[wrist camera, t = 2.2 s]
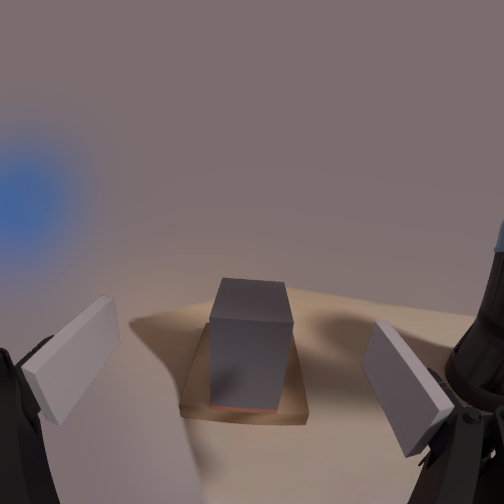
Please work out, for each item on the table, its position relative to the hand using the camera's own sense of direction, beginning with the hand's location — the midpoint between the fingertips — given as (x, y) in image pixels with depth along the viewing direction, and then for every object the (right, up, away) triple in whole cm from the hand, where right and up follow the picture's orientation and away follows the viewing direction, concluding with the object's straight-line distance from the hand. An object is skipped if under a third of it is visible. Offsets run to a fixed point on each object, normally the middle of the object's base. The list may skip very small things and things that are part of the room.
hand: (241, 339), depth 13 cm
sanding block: (0, -9, +13) cm, 16 cm away
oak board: (0, -10, +17) cm, 20 cm away
